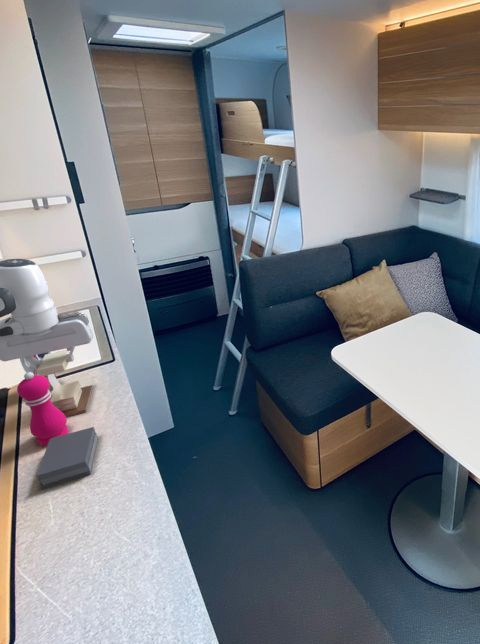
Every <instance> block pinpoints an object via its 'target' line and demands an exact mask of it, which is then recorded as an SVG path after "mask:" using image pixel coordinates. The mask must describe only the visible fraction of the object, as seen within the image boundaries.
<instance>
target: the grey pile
mask: <svg viewBox="0 0 480 644" xmlns="http://www.w3.org/2000/svg"><path fill="white" fill-rule="evenodd" d="M98 443H99V436H98V434H97V432H96V429H95V427H94V426H92V427H91V426H90V427H87V428H85V429H84V428H83V429H80V430H76V431H73V432H68V434H65V435H62V436H58V437H54V438H51V439H50V440H49V443H48V445H46V449H45V451H44V453H43V457H42V460H41V462H40V465H39V468H38V471H37V473H36V478H37V481H40V482H41V489H42V490H44V489H47V488H51V487H54V486H57V485H60V484H64V483H67V482H70V481H73V480H76V479H79V478H83V477H86V476H90V475H92V471H93V466H94V461H95V457H96V451H97V448H98V447H97V446H98Z"/></svg>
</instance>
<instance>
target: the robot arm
mask: <svg viewBox="0 0 480 644" xmlns="http://www.w3.org/2000/svg"><path fill="white" fill-rule="evenodd" d="M44 275H45V274H44V273H43V271H42V269H41V268H40V266H39V265H38V264H37V263H36V262H34V261H32V260H30V259H25V258H9V259H4V260H0V319H1V318H3V317H5V316H8V315H10V316H8V317H5V318H3V319H1V320H0V361H1V362H9V361H14V360H18V359H19V360H20V358H23V357H25V359H26V361H28V362H29V363H31V364H34V367H35V369H38V368H39V366H40V364H41V362H42V360H37V359H36V358H34V357H33V356H34V355H38V354H42V353H47V352H51V353H53V352H57V351H62V350H67V351H69V352H70V353H69V354H66V355H65V359H66V362H69V363H70V362H74V360H75V357H74V351H75V348H76V347H79V346H83V345H88V344H90V343H91V342H92V340H93V339H94V333H93V330H92V328H91V326H90V325H89V323H90V321H89V318H88V316H87V314H85V313H83V312H79V311H73V312H69V313H63V314H59V311H58V309H57V306H56V304H55V302H54V300H53V298H52V297H51V295H50V287H49V285H48V282H47V280H46V277H45V276H44Z"/></svg>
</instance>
